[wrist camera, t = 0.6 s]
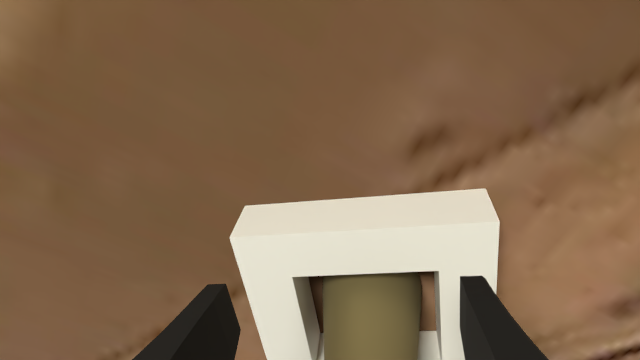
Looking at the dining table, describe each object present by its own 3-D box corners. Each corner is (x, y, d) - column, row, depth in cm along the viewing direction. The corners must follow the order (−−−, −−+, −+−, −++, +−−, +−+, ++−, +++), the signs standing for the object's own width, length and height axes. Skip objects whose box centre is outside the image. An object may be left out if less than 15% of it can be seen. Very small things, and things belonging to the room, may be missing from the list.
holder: (287, 361, 31) (279, 400, 28) (245, 205, 25) (229, 237, 22) (480, 359, 29) (490, 402, 26) (485, 188, 22) (499, 221, 20)
